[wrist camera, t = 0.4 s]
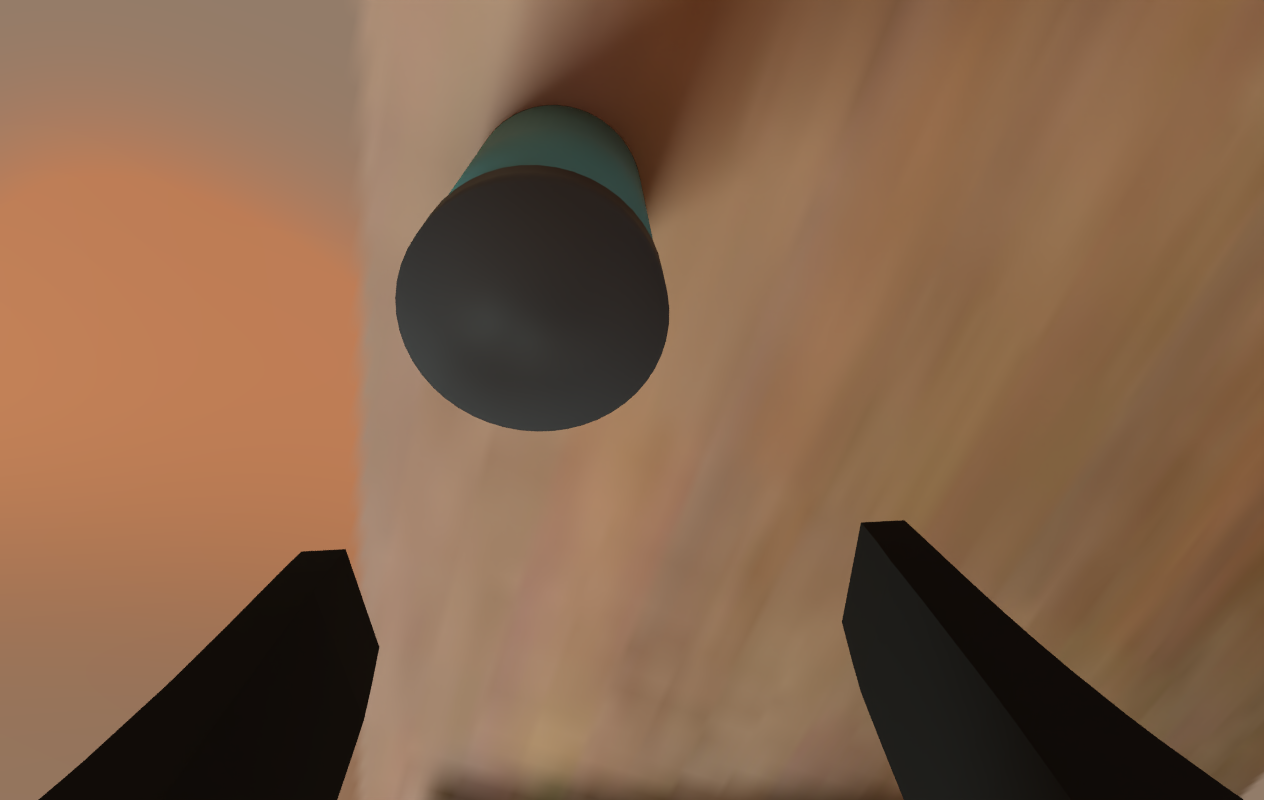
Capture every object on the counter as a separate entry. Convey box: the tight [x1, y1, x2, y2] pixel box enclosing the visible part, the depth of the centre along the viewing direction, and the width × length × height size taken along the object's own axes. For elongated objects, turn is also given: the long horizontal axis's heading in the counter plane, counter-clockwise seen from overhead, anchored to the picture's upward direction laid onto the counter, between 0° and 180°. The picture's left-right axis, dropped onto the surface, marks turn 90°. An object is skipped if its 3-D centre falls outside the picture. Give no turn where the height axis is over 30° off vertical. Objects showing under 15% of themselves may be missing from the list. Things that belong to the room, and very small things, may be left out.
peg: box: [395, 105, 669, 431], centre depth 13 cm, size 4×4×7 cm
